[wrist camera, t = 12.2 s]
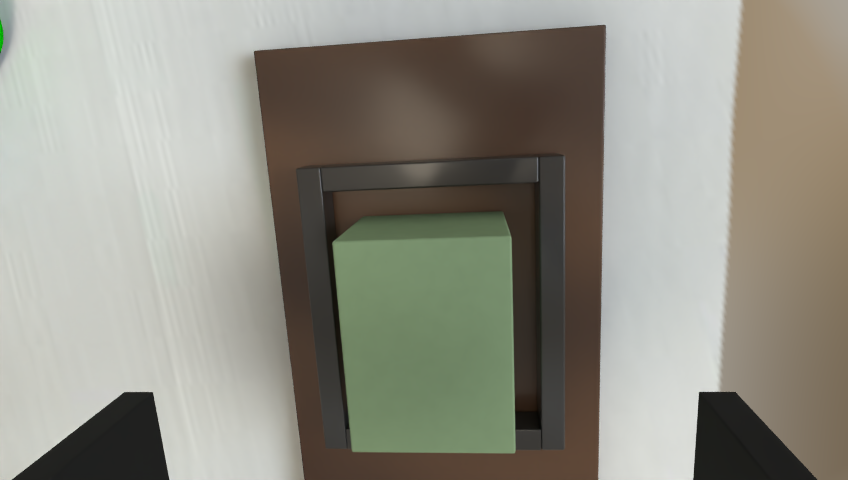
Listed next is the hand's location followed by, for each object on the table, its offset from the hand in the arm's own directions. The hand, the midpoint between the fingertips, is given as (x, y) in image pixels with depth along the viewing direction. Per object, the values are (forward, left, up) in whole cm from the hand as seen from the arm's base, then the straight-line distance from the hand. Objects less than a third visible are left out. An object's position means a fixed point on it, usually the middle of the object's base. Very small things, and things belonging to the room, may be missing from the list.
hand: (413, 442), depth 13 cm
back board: (0, 0, -12) cm, 12 cm away
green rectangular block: (0, 0, -11) cm, 11 cm away
